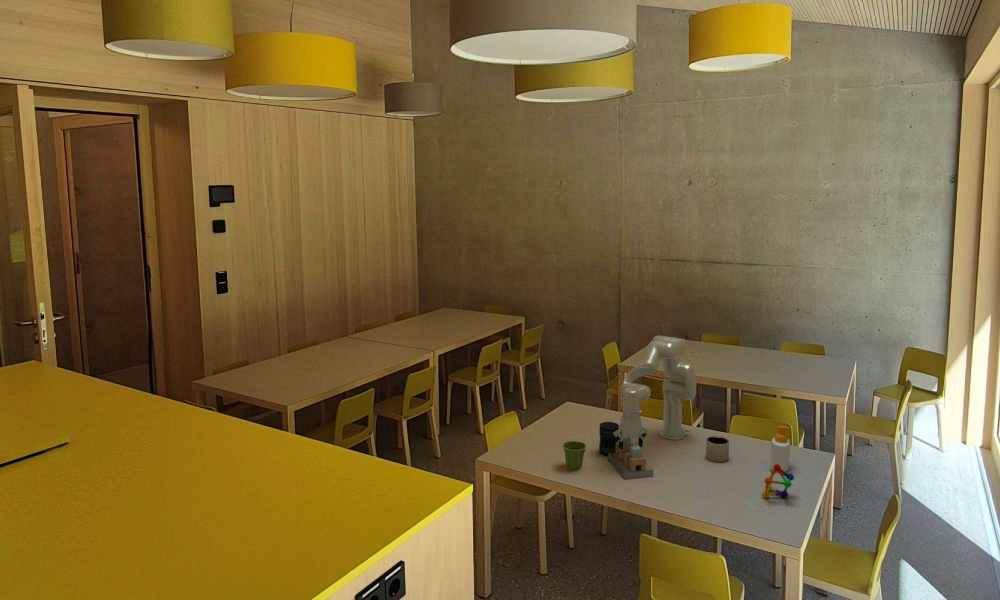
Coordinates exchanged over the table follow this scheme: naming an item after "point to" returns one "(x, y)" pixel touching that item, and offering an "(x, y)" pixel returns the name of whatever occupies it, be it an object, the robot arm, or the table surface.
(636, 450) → the block
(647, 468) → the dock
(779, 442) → the soap bottle
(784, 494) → the educational toy
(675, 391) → the robot arm
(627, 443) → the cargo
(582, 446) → the plant pot
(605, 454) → the storage jar
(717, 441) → the planter
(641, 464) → the wooden block carrier
